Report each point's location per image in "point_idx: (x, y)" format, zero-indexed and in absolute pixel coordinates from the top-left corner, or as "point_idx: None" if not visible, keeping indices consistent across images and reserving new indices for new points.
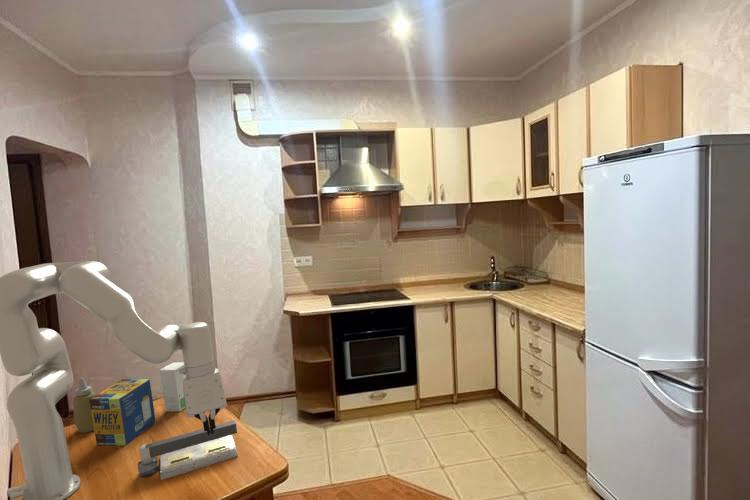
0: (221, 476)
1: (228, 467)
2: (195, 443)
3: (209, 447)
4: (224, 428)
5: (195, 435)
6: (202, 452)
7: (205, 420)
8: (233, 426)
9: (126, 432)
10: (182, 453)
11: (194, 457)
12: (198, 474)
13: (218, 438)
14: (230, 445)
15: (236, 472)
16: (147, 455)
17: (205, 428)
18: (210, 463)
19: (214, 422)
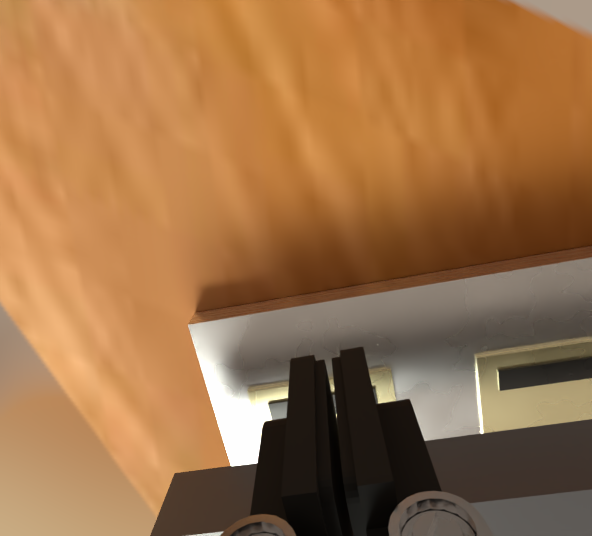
0: (275, 121)
1: (240, 211)
2: (473, 443)
3: None
4: (245, 515)
5: (487, 495)
6: (414, 407)
7: (400, 512)
8: (176, 520)
9: None
10: None
11: (463, 371)
12: (428, 205)
13: None
14: (243, 416)
15: (179, 131)
16: None
17: (395, 420)
18: (357, 287)
19: (261, 479)
